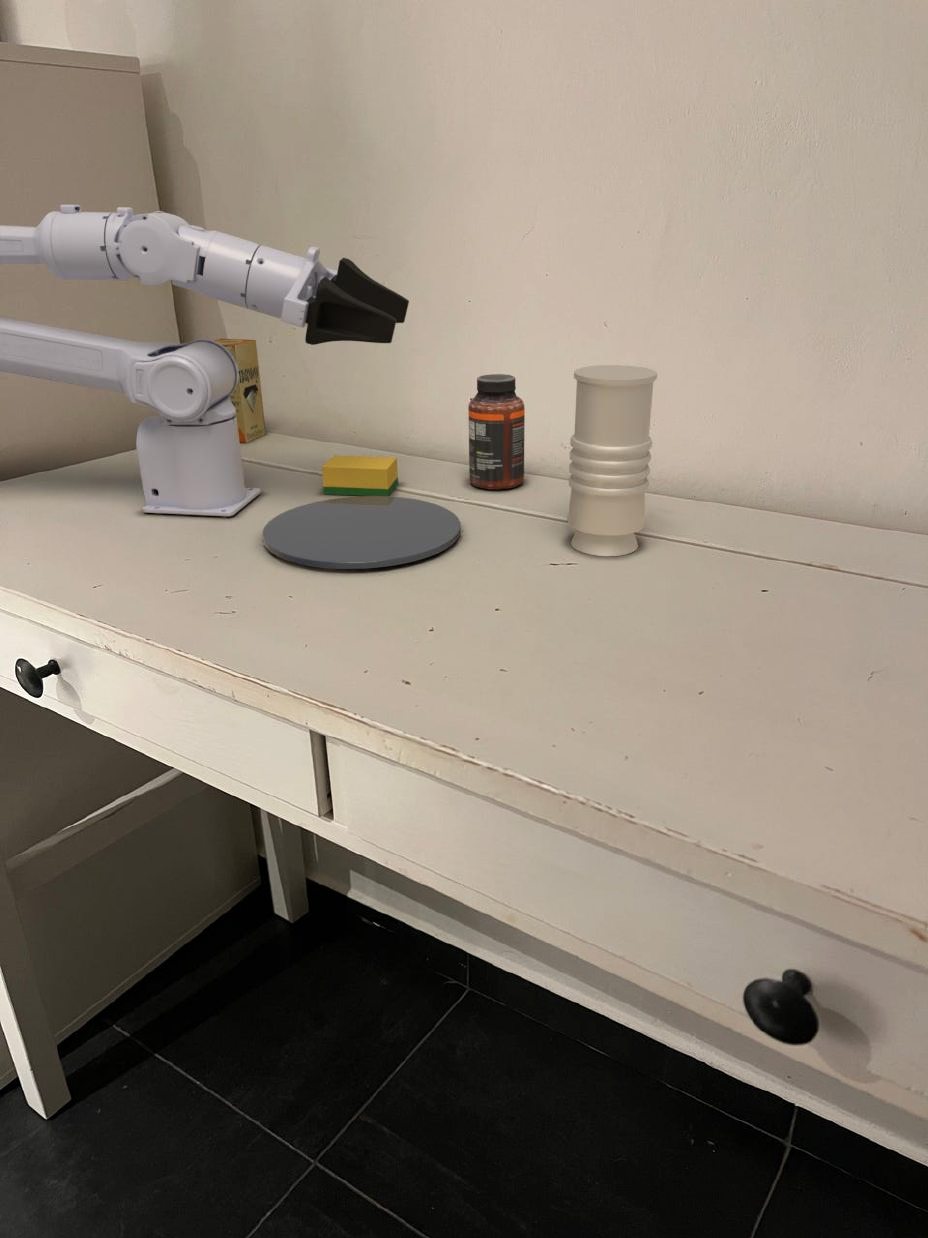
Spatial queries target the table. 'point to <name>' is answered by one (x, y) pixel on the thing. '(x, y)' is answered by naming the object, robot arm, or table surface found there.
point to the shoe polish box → (246, 389)
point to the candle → (610, 457)
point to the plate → (361, 532)
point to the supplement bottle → (496, 434)
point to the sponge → (360, 475)
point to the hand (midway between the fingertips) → (400, 321)
